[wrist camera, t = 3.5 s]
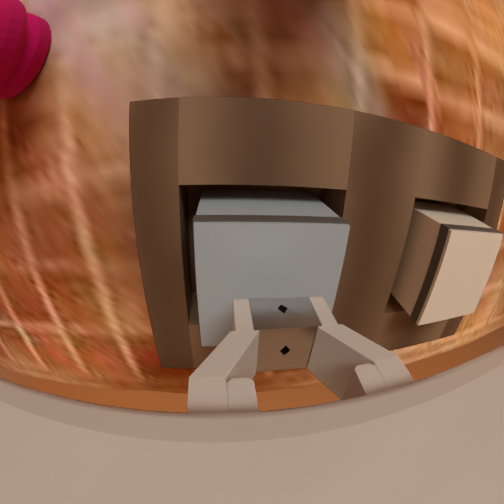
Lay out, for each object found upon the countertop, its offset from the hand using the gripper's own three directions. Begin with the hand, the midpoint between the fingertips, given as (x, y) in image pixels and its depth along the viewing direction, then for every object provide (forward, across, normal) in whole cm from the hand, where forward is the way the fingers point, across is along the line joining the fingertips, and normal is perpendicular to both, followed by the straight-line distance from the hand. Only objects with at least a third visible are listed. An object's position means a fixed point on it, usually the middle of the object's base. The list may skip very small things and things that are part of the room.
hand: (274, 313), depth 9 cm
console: (+9, -6, 0) cm, 10 cm away
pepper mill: (+9, +16, -13) cm, 23 cm away
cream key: (+6, -11, 0) cm, 13 cm away
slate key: (+6, 0, 0) cm, 6 cm away
